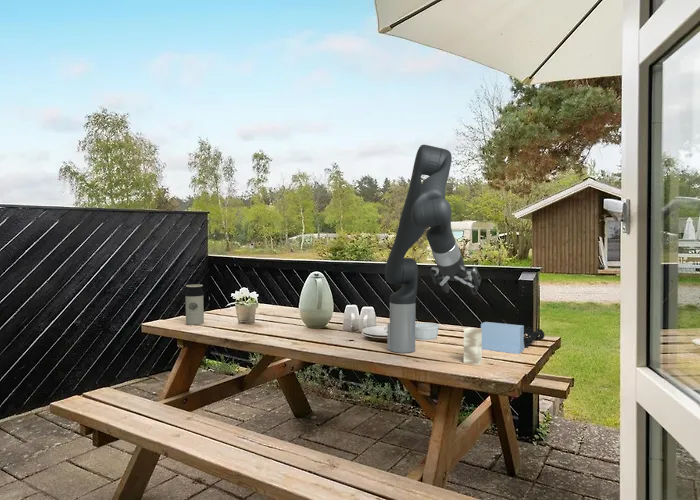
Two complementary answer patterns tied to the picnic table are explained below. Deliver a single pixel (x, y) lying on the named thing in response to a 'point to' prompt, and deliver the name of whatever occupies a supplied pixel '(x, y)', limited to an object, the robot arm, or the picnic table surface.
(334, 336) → the picnic table surface
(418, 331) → the ramekin
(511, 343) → the light blue rectangular block
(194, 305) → the travel mug
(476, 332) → the birch post
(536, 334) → the decorative element
